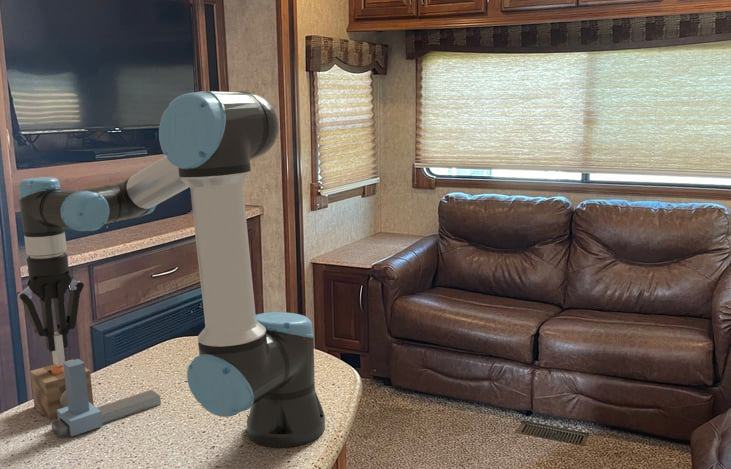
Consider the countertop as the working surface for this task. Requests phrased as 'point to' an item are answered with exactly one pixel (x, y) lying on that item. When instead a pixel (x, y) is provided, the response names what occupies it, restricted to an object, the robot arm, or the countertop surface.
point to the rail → (115, 410)
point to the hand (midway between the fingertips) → (59, 363)
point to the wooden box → (52, 391)
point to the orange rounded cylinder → (57, 370)
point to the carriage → (78, 401)
